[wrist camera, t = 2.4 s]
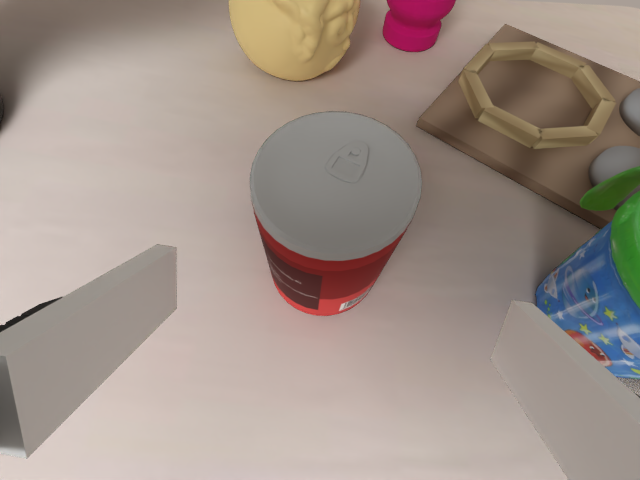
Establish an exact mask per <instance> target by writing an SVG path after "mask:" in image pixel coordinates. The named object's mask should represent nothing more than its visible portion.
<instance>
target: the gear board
mask: <svg viewBox="0 0 640 480" xmlns="http://www.w3.org/2000/svg"><path fill="white" fill-rule="evenodd" d="M416 126H417V127H419V128H421V129H422V130H424V131H426V132H428V133H430V134H431V135H433V136H435V137H437V138H439V139H440V140H442V141H444V142H446V143H448V144H449V145H451V146H453V147H455V148H457V149H458V150H460V151H462V152H464V153H466V154H467V155H469V156H471V157H473V158H475V159H476V160H478V161H480V162H482V163H484V164H485V165H487V166H489V167H491V168H492V169H494V170H496V171H498V172H500V173H501V174H503V175H505V176H507V177H509V178H510V179H512V180H514V181H516V182H518V183H519V184H521V185H523V186H525V187H527V188H528V189H530V190H532V191H534V192H536V193H537V194H539V195H541V196H543V197H545V198H546V199H548V200H550V201H552V202H554V203H555V204H557V205H559V206H561V207H563V208H564V209H566V210H568V211H570V212H571V213H573V214H575V215H577V216H579V217H580V218H582V219H584V220H586V221H588V222H589V223H591V224H593V225H595V226H597V227H598V228H600V229H602V228H603V227H605V226H606V225H607V224H608V223H610V222H611V221H612V220H613V218H614V215H615V213H616V211H617V210H618V209H619V207H621V206H622V205H623V204H624V203H625V202H626V201H627V200H628V199H629V198H630V197H631V196H632V195H634V194H635V193H637V192H638V191H640V185H638V186H637V187H636V188H635V189H634V190H633V191H632V192H630V194H629V195H628V196H626V197H625V198H624V199H623V200H622V201H620V202H619V203H618V204H617V205H616V206H615V207H614V208H613V209H609V210H603V211H594V210H587V209H584V208H582V207H581V206H580V200H581V198H582V197H583V196H584V195H585V194H586V192H587V191H589V190H590V189H592V188H593V187H595V186H596V185H598V184H600V183H602V182H603V181H605V180H607V179H609V178H611V177H613V176H615V175H617V174H619V173H621V172H623V171H626V170H628V169H631V168H634V167H638V166H640V82H639V81H637V80H635V79H632V78H630V77H628V76H625V75H623V74H621V73H619V72H616V71H614V70H612V69H609V68H607V67H605V66H602V65H600V64H598V63H595V62H593V61H591V60H588V59H586V58H584V57H581V56H579V55H577V54H574V53H572V52H570V51H567V50H565V49H563V48H560V47H558V46H556V45H553V44H551V43H549V42H546V41H544V40H542V39H539V38H537V37H535V36H532V35H530V34H528V33H526V32H523V31H521V30H519V29H516V28H514V27H512V26H509V25H507V24H505V25H504V26H503V27H502V28H501V29H500V30H499V31H498V32H497V33H496V35H495V36H494V37H493V38H492V39H491V40H490V41H489V42H488V43H487V44H485V46H484V47H483V48H482V49H481V50H480V51H479V52H478V53H477V54H476V55H475V56H474V58H473V59H472V60H471V61H470V62H469V63H468V64H467V65H466V66H465V67H464V69H463V71H462V72H461V73H460V74H459V75H458V76H457V77H456V78H455V79H454V80H453V82H452V83H451V84H450V85H449V86H448V87H447V88H446V89H445V90H444V91H443V93H442V94H441V95H440V96H439V97H438V98H437V99H436V100H435V101H434V102H433V103H432V105H431V106H430V107H429V108H428V109H427V110H426V111H425V112H424V113H423V114H422V115H421V117H420V118H419V120H418V123H417V125H416Z"/></svg>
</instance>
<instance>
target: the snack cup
mask: <svg viewBox="0 0 640 480" xmlns="http://www.w3.org/2000/svg"><path fill="white" fill-rule="evenodd" d="M638 185H640V166H638V167H634V168H631V169H628V170H626V171H623V172H621V173H619V174H617V175H615V176H613V177H611V178H609V179H607V180H605V181H603V182H602V183H600V184H598V185H596V186H595V187H593V188H592V189H590V190H589V191H587V192H586V194H585V195H584V196H583V197H582V198H581V200H580V206H581V207H582V208H584V209H587V210H594V211H603V210H609V209H613V208H614V207H615V206H616V205H617V204H618V203H619V202H620V201H622V200H623V199H624V198H625V197H626V196H628V195H629V194H630V192H632V191H633V190H634V189H635V188H636V187H637V186H638ZM535 295H536V296H537V308H539V309H540V310H541V311H542V312H543V313H544V314H545V315H546V316H548V317H549V318H550V319H551V320H552V321H553V322H554V323H556V324H557V325H558V326H559V327H560V328H561V329H562V330H563V331H565V332H566V333H567V334H568V335H569V336H570V337H571V338H572V339H574V340H575V341H576V342H577V343H578V344H579V345H580V346H582V347H583V348H584V349H585V350H586V351H587V352H588V353H589V354H591V355H592V356H593V357H594V358H595V359H596V360H597V361H599V362H600V363H601V364H602V365H603V366H604V367H605V368H606V369H608V370H609V371H610V372H611V373H612V374H613V375H614V376H615V377H622V378H633V379H640V191H638V192H637V193H635V194H634V195H632V196H631V197H630V198H629V199H628V200H627V201H626V202H625V203H624V204H623V205H622V206H621V207H619V209H618V210H617V211H616V213H615V215H614V218H613V220H612V221H611V222H610V223H608V224H607V225H606V226H605V227H603V228H602V229H601V230H600V231H598V232H597V233H596V234H595V236H593V237H592V238H591V239H590V240H588V241H587V242H586V243H585V244H583V245H582V246H581V247H579V248H578V249H577V250H576V251H575V252H574V253H572V254H571V255H570V256H569V257H568V258H567V259H565V260H564V261H563V262H562V263H561V264H560V265H559V266H558V267H556V268H555V269H554V270H553V271H552V272H551V273H550V274H549V275H548V276H547V277H546V278H545V280H544V281H543V282H542V283H541V284H540V285H539V286H538V288H537V291H536V294H535Z"/></svg>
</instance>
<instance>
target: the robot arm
mask: <svg viewBox="0 0 640 480" xmlns="http://www.w3.org/2000/svg"><path fill="white" fill-rule="evenodd" d="M2 115H3V101H2V97H1V95H0V122H1V119H2ZM176 309H177V277H176V247H172V246H165V245H159V244H157V245H155V246H154V247H152V248H150V249H148V250H146V251H145V252H143V253H141V254H139V255H137V256H136V257H134V258H132V259H130V260H129V261H127V262H125V263H123V264H121V265H120V266H118V267H116V268H114V269H113V270H111V271H109V272H107V273H105V274H104V275H102V276H100V277H98V278H96V279H95V280H93V281H91V282H89V283H88V284H86V285H84V286H82V287H80V288H79V289H77V290H75V291H73V292H72V293H70V294H68V295H66V296H64V297H60V298H57V299H54V300H51V301H48V302H45V303H42V304H39V305H37V306H36V307H34V308H32V309H30V310H28V311H26V312H24V313H23V314H21V316H17V317H15V318H13V319H12V320H10V321H8V322H6V324H5V325H0V454H4V455H9V456H15V457H20V458H26V459H27V458H28V457H29V456H30V455H31V454H32V453H33V452H34V451H35V450H36V449H37V448H38V447H39V446H40V445H41V444H42V443H43V442H44V441H45V440H46V439H47V438H48V437H49V436H50V435H51V434H52V433H53V432H54V431H55V430H56V429H57V428H58V427H59V426H60V425H61V424H62V423H63V422H64V421H65V420H66V419H67V418H68V417H69V416H70V415H71V414H72V413H73V412H74V411H75V410H76V409H77V408H78V407H79V406H80V405H81V404H82V403H83V402H84V401H85V400H86V399H87V398H88V397H89V396H90V395H91V394H92V393H93V392H94V391H95V390H96V389H97V388H98V387H99V386H100V385H101V384H102V383H103V382H104V381H105V380H106V379H107V378H108V377H109V376H110V375H111V374H112V373H113V372H114V371H115V370H116V369H117V368H118V367H119V366H120V365H121V364H122V363H123V362H124V361H125V360H126V359H127V358H128V357H129V356H130V355H131V354H132V353H133V352H134V351H135V350H136V349H137V348H138V347H139V346H140V345H141V344H142V343H143V342H144V341H145V340H146V339H147V338H148V337H149V336H150V335H151V334H152V333H153V332H154V331H155V330H156V329H157V328H158V327H159V326H160V325H161V324H162V323H163V322H164V321H165V320H166V319H167V318H168V317H169V316H170V315H171V314H172V313H173V312H174V311H175V310H176ZM490 360H491V361H492V363H493V365H494V366H495V368H496V369H497V371H498V372H499V374H500V375H501V377H502V378H503V380H504V381H505V383H506V384H507V386H508V388H509V389H510V391H511V392H512V394H513V395H514V397H515V398H516V400H517V401H518V403H519V404H520V406H521V407H522V409H523V411H524V412H525V414H526V415H527V417H528V418H529V420H530V421H531V423H532V424H533V426H534V427H535V429H536V430H537V432H538V434H539V435H540V437H541V438H542V440H543V441H544V443H545V444H546V446H547V447H548V449H549V450H550V452H551V453H552V455H553V457H554V458H555V460H556V461H557V463H558V464H559V466H560V467H561V469H562V470H563V472H564V473H565V475H566V476H567V478H568V480H640V396H638V395H637V394H635V393H634V392H632V391H631V390H630V389H629V388H628V387H627V386H626V385H625V384H623V383H622V382H621V381H620V380H619V379H618V378H617V377H615V376H614V375H613V374H612V373H611V372H610V371H609V370H608V369H606V368H605V367H604V366H603V365H602V364H601V363H600V362H599V361H597V360H596V359H595V358H594V357H593V356H592V355H591V354H589V353H588V352H587V351H586V350H585V349H584V348H583V347H582V346H580V345H579V344H578V343H577V342H576V341H575V340H574V339H572V338H571V337H570V336H569V335H568V334H567V333H566V332H565V331H563V330H562V329H561V328H560V327H559V326H558V325H557V324H556V323H554V322H553V321H552V320H551V319H550V318H549V317H548V316H546V315H545V314H544V313H543V312H542V311H541V310H540V309H539V308H537V307H536V306H535V305H534V304H533V303H530V302H523V301H517V300H512V301H511V304H510V306H509V309H508V312H507V315H506V317H505V320H504V323H503V326H502V328H501V331H500V334H499V337H498V340H497V342H496V345H495V348H494V351H493V353H492V356H491V359H490Z"/></svg>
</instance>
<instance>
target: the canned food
mask: <svg viewBox="0 0 640 480" xmlns="http://www.w3.org/2000/svg"><path fill="white" fill-rule="evenodd" d="M421 188H422V179H421V171H420V167H419V164H418V162H417V159H416V156H415V155H414V153H413V151H412V150H411V148H410V147H409V145H408V144H407V143H406V142H405V141H404V140H403V138H402V137H401V136H400V135H399V134H398V133H396V132H395V131H394V130H392V129H391V128H390V127H388V126H387V125H385V124H383V123H381V122H379V121H377V120H375V119H373V118H370V117H367V116H364V115H361V114H356V113H350V112H340V111H328V112H319V113H313V114H310V115H306V116H302V117H300V118H297V119H295V120H293V121H290V122H288V123H287V124H285V125H284V126H282V127H281V128H279V129H277V130H276V131H275V132H274V133H273V134H272V135H271V136H270V137H269V138H268V139H267V140H266V141H265V142H264V143H263V145H262V146H261V148H260V149H259V151H258V152H257V154H256V157H255V159H254V162H253V164H252V169H251V174H250V189H251V201H252V205H253V209H254V214H255V218H256V221H257V225H258V228H259V232H260V235H261V239H262V242H263V246H264V249H265V253H266V256H267V260H268V263H269V267H270V270H271V274H272V277H273V281H274V284H275V286H276V288H277V290H278V291H279V293H280V295H281V296H282V297H283V298H284V299H285V300H286V301H287V302H288V303H289V304H290V305H292V306H293V307H294V308H296V309H298V310H300V311H302V312H305V313H308V314H312V315H318V316H329V315H334V314H339V313H342V312H344V311H347V310H349V309H351V308H352V307H354V306H355V305H357V304H358V303H359V302H360V301H361V300H362V299H363V298H364V297H365V296H366V295H367V294H368V292H369V291H370V289H371V288H372V286H373V284H374V283H375V281H376V279H377V278H378V276H379V274H380V273H381V271H382V270H383V268H384V266H385V265H386V263H387V261H388V260H389V258H390V256H391V255H392V253H393V251H394V250H395V248H396V246H397V245H398V243H399V241H400V240H401V238H402V237H403V235H404V233H405V232H406V230H407V227H408V226H409V224H410V222H411V221H412V219H413V216H414V214H415V211H416V208H417V205H418V202H419V200H420V197H421Z"/></svg>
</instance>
